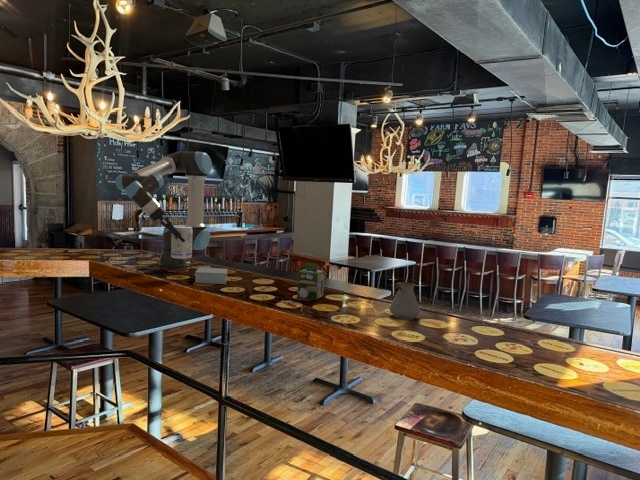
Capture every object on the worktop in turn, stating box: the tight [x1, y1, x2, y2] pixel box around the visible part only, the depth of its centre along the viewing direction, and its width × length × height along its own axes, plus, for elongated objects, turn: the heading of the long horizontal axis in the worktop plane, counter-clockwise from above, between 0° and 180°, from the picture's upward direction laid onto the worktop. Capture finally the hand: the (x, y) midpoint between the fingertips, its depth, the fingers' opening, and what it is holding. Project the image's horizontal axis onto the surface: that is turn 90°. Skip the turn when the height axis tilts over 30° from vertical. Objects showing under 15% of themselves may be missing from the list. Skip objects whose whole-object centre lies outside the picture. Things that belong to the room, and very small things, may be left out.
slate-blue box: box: [194, 267, 228, 285], centre depth 212 cm, size 15×14×5 cm
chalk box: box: [296, 262, 325, 301], centre depth 190 cm, size 9×9×15 cm
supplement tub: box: [171, 225, 193, 260], centre depth 208 cm, size 10×10×15 cm
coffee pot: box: [388, 281, 421, 321], centre depth 161 cm, size 21×12×15 cm, turn 153°
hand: (188, 245), depth 209 cm, fingers closed on supplement tub, 9 cm apart
